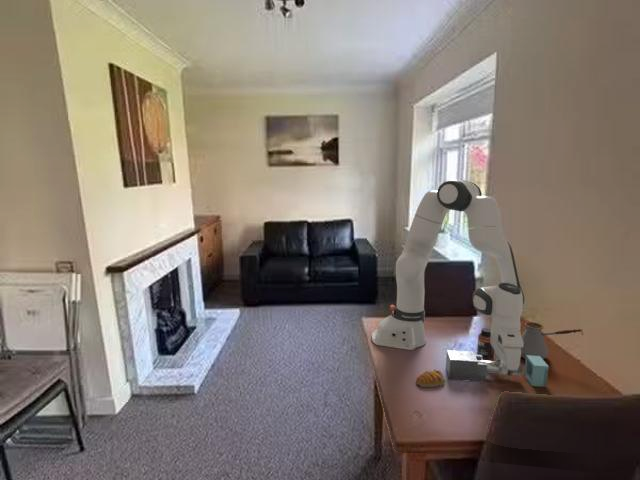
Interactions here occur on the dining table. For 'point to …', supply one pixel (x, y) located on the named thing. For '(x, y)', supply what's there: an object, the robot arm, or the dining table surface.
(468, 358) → the sleeve
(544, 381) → the socket
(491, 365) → the tube
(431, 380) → the pastry
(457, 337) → the dining table surface
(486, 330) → the supplement bottle
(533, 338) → the coffee pot
